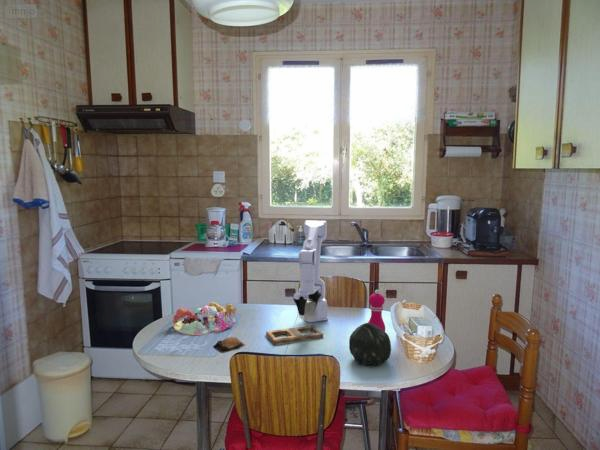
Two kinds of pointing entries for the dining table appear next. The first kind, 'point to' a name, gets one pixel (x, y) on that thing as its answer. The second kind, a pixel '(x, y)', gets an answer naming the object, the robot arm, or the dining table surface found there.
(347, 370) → the dining table surface
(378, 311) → the pepper mill
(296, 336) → the wooden board with holes
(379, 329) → the squash
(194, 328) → the candy landscape model
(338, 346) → the dining table surface
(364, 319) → the dining table surface
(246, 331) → the dining table surface
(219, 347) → the bread roll
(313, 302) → the light grey block
